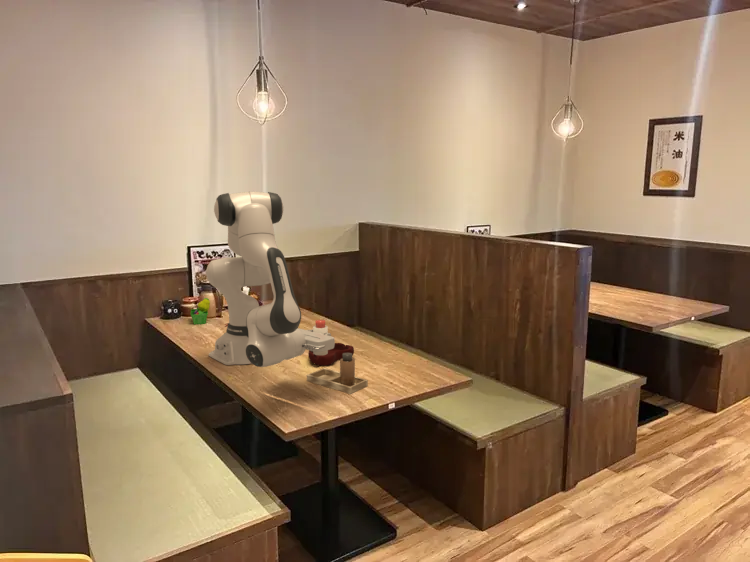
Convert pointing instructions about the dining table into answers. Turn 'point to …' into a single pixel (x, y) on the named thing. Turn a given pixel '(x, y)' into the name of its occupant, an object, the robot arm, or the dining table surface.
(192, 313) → the fruit basket
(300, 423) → the dining table surface
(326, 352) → the white shaker
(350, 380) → the brown soy bottle
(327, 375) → the caddy
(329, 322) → the dining table surface
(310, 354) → the ashtray
